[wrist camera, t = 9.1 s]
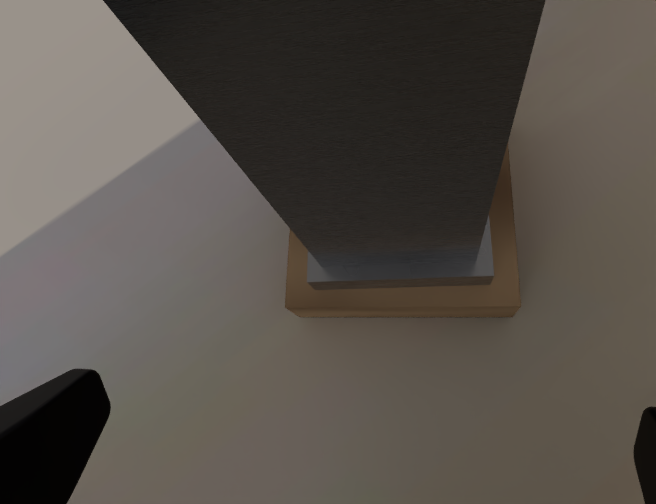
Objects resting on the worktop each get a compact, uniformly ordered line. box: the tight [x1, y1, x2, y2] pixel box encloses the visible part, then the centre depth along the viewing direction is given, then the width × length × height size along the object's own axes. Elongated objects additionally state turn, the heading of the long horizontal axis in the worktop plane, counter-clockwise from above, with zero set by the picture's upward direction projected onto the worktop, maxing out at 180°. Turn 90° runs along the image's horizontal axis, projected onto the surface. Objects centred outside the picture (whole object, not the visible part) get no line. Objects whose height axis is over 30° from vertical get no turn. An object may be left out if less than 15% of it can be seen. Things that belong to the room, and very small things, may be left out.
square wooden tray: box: [285, 143, 521, 317], centre depth 18 cm, size 8×8×3 cm
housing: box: [103, 0, 545, 290], centre depth 11 cm, size 6×6×14 cm
